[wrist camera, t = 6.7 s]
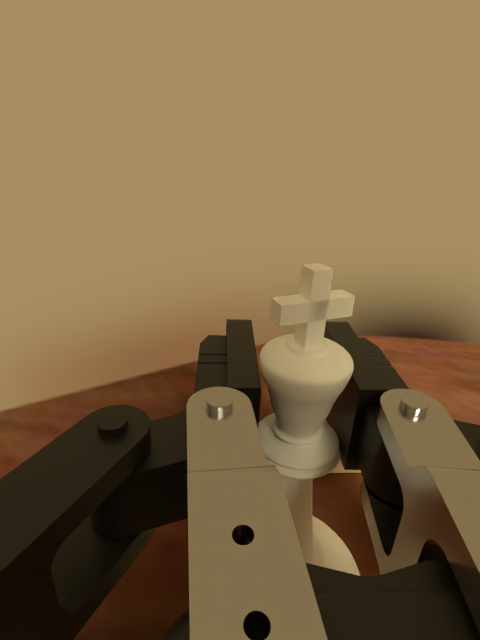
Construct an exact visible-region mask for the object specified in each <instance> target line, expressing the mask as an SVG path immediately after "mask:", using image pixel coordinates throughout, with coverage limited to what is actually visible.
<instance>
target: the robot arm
mask: <svg viewBox="0 0 480 640" xmlns="http://www.w3.org/2000/svg"><path fill="white" fill-rule="evenodd" d="M324 338H327V339H330V340H332V341H334V342H336V343H338V344H339V345H341V346H342V347H343V348H344V349H345V350H346V351H347V352H348V353H349V354H350V356H351V357H352V360H353V363H354V369H353V373H352V376H351V378H350V380H349V382H348V383H347V385H346V387H345V388H344V390H343V391H342V393H341V394H340V395H339V396H338V398H337V399H336V401H335V402H334V404H333V406H332V408H331V410H330V413H329V415H328V416H327V418H326V420H327V423H328V424H329V425H330V426H331V427H332V428H333V430H334V431H335V433H336V434H337V437H338V439H339V448H340V452H341V456H340V459H341V462H342V465H343V467H344V470H361V473H362V475H363V477H362V482H361V486H360V497H361V501H362V505H363V509H364V512H365V516H366V520H367V524H368V528H369V532H370V535H371V539H372V543H373V547H374V551H375V555H376V558H377V562H378V566H379V572H380V575H379V576H376V577H363V576H358V575H354V574H350V573H346V572H342V571H338V570H334V569H330V568H325V567H321V566H317V565H313V564H309V563H305V560H304V556H303V553H302V549H301V546H300V542H299V539H298V536H297V532H296V529H295V525H294V522H293V518H292V515H291V511H290V508H289V504H288V501H287V497H286V494H285V491H284V487H283V484H282V480H281V477H280V474H279V471H278V469H277V467H276V466H275V465H267V462H266V458H265V454H264V450H263V446H262V442H261V439H260V435H259V431H258V426H259V412H260V398H261V384H260V377H259V370H258V363H257V356H256V349H255V343H254V336H253V329H252V322H251V320H229V319H227V324H226V336H218V335H217V336H215V335H208V337H206V338H205V339H204V340H203V341H202V342H201V343H200V350H199V358H198V366H197V374H196V383H195V391H194V394H193V395H192V396H191V397H190V398H189V400H188V402H187V407H186V409H185V410H183V411H182V412H180V413H178V414H176V415H173V416H171V417H167V418H164V419H159V420H154V421H149V418H148V416H147V415H146V413H145V412H143V411H142V410H141V409H138V408H136V407H133V406H127V405H114V406H108V407H105V408H101V409H99V410H96V411H94V412H92V413H90V414H89V415H87V416H86V417H84V418H83V419H82V420H80V421H79V422H78V423H76V424H75V425H74V426H72V427H71V428H70V429H68V430H67V431H65V432H64V433H63V434H61V435H60V436H59V437H57V438H56V439H55V440H53V441H52V442H51V443H49V444H48V445H46V446H45V447H44V448H42V449H41V450H40V451H38V452H37V453H36V454H34V455H33V456H32V457H30V458H29V459H27V460H26V461H25V462H23V463H22V464H21V465H19V466H18V467H17V468H15V469H14V470H13V471H11V472H10V473H8V474H7V475H6V476H4V477H3V478H2V479H0V640H73V639H74V638H75V636H76V635H77V634H78V633H79V631H80V630H81V629H82V627H83V626H84V625H85V623H86V622H87V621H88V620H89V618H90V617H91V616H92V614H93V613H94V612H95V610H96V609H97V608H98V607H99V605H100V604H101V603H102V601H103V600H104V599H105V597H106V596H107V595H108V594H109V592H110V591H111V590H112V588H113V587H114V586H115V584H116V583H117V582H118V581H119V579H120V578H121V577H122V575H123V574H124V573H125V571H126V570H127V569H128V568H129V566H130V565H131V564H132V562H133V561H134V560H135V558H136V557H137V556H138V554H139V553H140V552H141V551H142V549H143V548H144V547H145V545H146V544H147V543H148V541H149V540H150V539H151V537H152V536H153V534H154V532H155V530H156V528H157V527H160V526H163V525H166V524H169V523H173V522H176V521H179V520H182V519H186V518H188V552H189V610H188V611H187V612H185V613H184V614H183V615H182V616H181V617H180V618H179V619H178V620H177V621H176V622H175V623H174V624H173V625H172V626H171V627H170V628H169V630H168V631H167V632H166V633H165V634H164V636H163V637H162V638H161V640H480V425H476V424H471V423H466V422H461V421H457V420H453V419H452V418H451V416H450V415H449V413H448V412H447V410H446V409H445V408H444V406H443V405H442V404H441V403H440V402H438V401H437V400H435V399H434V398H432V397H430V396H428V395H426V394H424V393H421V392H418V391H414V390H409V388H408V387H407V385H406V384H405V383H404V381H403V380H402V379H401V377H400V376H399V375H398V373H397V372H396V370H395V369H394V368H393V367H391V364H390V362H389V361H388V360H387V359H385V355H384V354H383V353H382V351H381V350H380V349H379V347H378V346H376V345H375V344H373V343H372V342H370V341H368V340H367V339H365V338H358V337H357V335H356V334H355V332H354V331H353V329H352V328H351V326H350V325H349V324H348V322H327V321H326V325H325V332H324Z"/></svg>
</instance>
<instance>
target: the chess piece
mask: <svg viewBox="0 0 480 640" xmlns="http://www.w3.org/2000/svg"><path fill="white" fill-rule="evenodd" d="M332 275H333V269H332V268H330V267H328V266H326V265H324V264H321V263H317V264H304V265H302V271H301V281H300V290H299V294H298V295H290V296H281V297H273V298H271V310H270V318H271V319H272V320H273V321H274V322H275V323H276V324H278V325H279V326H286V325H293V324H296V327H295V334H287V335H282V336H279V337H276V338H274V339H272V340H270V341H269V342H268V343H266V344H265V345H264V347H263V348H262V350H261V352H260V365H261V370H262V373H263V377H264V380H265V382H266V384H267V387H268V390H269V394H270V398H271V404H272V408H273V411H274V413H272V414H270V415H268V416H266V417H264V418H263V419H262V420H261V421H260V422H259V426H258V431H259V435H260V439H261V442H262V446H263V450H264V454H265V458H266V462H267V465H275V466H276V467H277V469H278V471H279V474H280V477H281V480H282V484H283V487H284V491H285V494H286V497H287V501H288V504H289V508H290V511H291V515H292V518H293V522H294V525H295V529H296V532H297V536H298V539H299V542H300V546H301V549H302V553H303V556H304V560H305V563H309V564H313V565H317V566H321V567H325V568H330V569H334V570H338V571H342V572H346V573H350V574H354V575H358V576H360V573H359V570H358V568H357V565H356V563H355V560H354V558H353V556H352V554H351V553H350V551H349V549H348V548H347V546H346V545H345V544H344V542H343V541H342V540H341V538H340V537H339V536H338V535H337V534H336V533H335V532H334V531H333V530H332V529H331V528H330V527H329V526H327V525H326V524H325V523H323V522H322V521H321V520H319V519H318V518H316V517H314V516H312V485H313V479H314V478H319V477H321V476H324V475H326V474H328V473H329V472H331V471H332V470H333V469H334V468H335V467H336V466H337V464H338V462H339V460H340V456H341V452H340V448H339V439H338V437H337V434H336V433H335V431H334V430H333V428H332V427H331V426H330V425H329V424H328V423H326V422H325V421H324V420H325V419H326V418H327V416H328V415H329V413H330V410H331V408H332V406H333V404H334V402H335V401H336V399H337V398H338V396H339V395H340V394H341V393H342V391H343V390H344V388H345V387H346V385H347V383H348V382H349V380H350V378H351V376H352V373H353V369H354V363H353V360H352V357H351V356H350V354H349V353H348V352H347V351H346V350H345V349H344V348H343V347H342V346H341V345H339V344H338V343H336V342H334V341H332V340H330V339H327V338H324V332H325V325H326V320H327V319H334V318H341V317H348V316H352V311H353V305H354V298H355V296H353V295H351V294H350V293H348V292H346V291H344V290H343V289H342V290H334V291H330V290H331V281H332Z"/></svg>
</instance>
